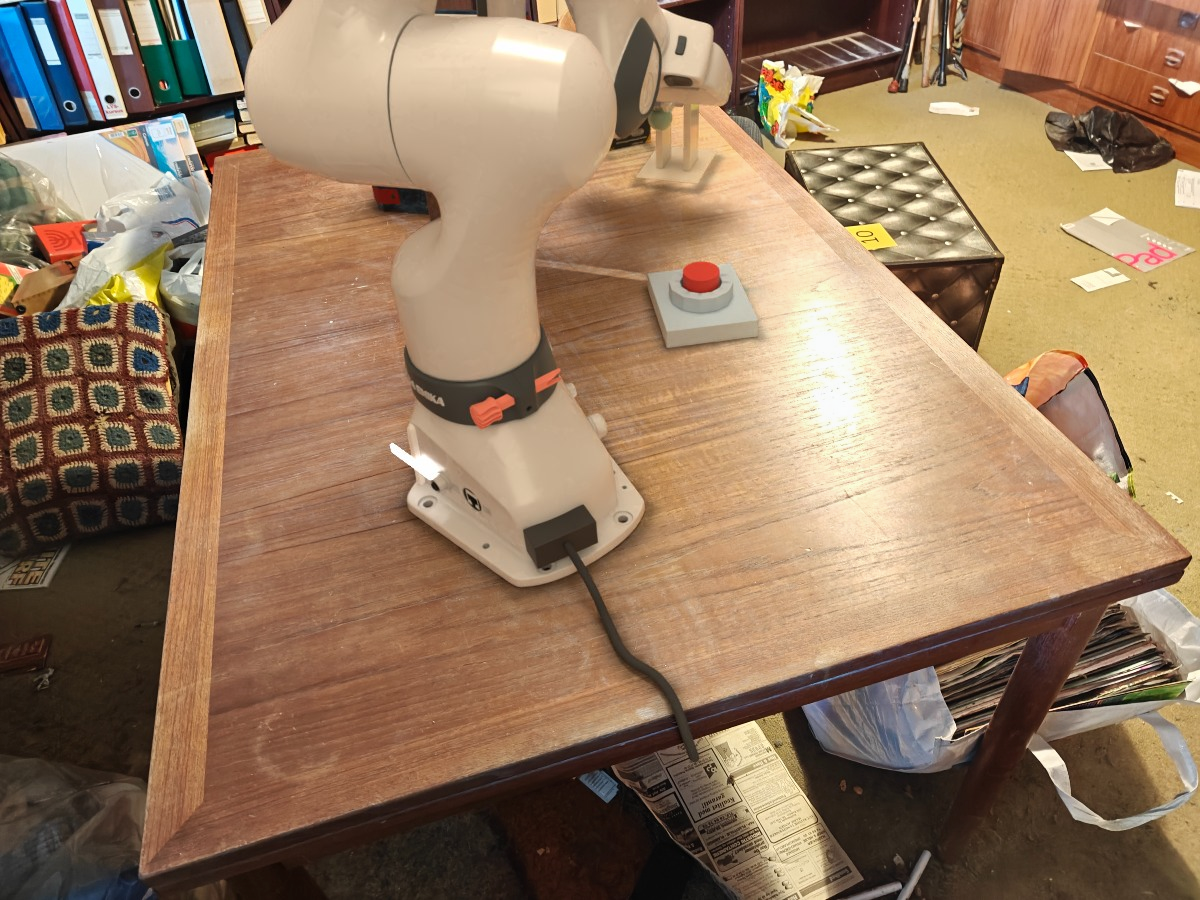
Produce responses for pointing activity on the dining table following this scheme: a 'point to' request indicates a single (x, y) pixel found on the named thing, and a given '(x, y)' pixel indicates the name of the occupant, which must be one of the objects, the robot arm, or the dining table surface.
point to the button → (701, 277)
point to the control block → (701, 309)
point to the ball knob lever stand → (679, 154)
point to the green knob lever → (662, 118)
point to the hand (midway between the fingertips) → (658, 106)
